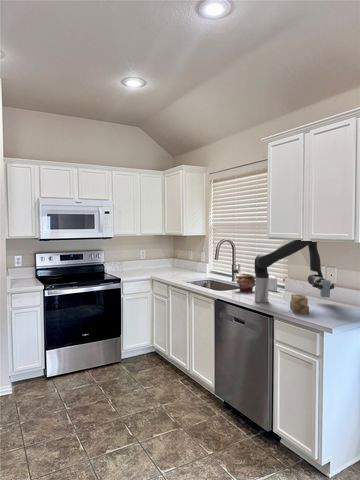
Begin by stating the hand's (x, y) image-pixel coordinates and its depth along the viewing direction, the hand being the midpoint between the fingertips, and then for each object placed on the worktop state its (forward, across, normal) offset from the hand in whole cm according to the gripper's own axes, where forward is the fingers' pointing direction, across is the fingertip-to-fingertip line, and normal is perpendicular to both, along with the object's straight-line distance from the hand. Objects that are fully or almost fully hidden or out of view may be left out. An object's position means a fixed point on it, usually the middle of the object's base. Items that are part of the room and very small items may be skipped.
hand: (326, 287), depth 213 cm
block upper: (-1, -16, +12) cm, 20 cm away
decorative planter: (-60, -47, +17) cm, 78 cm away
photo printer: (-70, -28, +17) cm, 77 cm away
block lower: (-2, -15, +17) cm, 23 cm away
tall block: (-3, 0, +6) cm, 7 cm away
